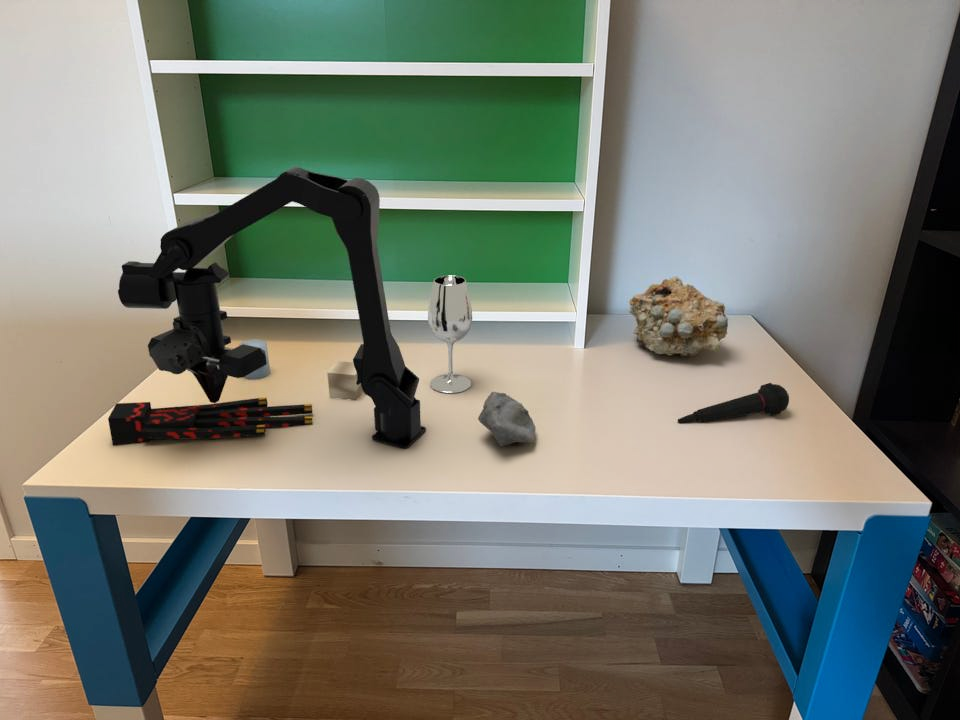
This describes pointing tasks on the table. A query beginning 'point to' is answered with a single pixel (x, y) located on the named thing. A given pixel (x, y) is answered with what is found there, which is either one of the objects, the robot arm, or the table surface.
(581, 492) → the table surface
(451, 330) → the wineglass
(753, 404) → the microphone
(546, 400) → the table surface
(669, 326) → the rock
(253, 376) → the grey cylinder
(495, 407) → the grey stone
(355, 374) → the beech cube
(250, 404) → the toy
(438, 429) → the table surface
